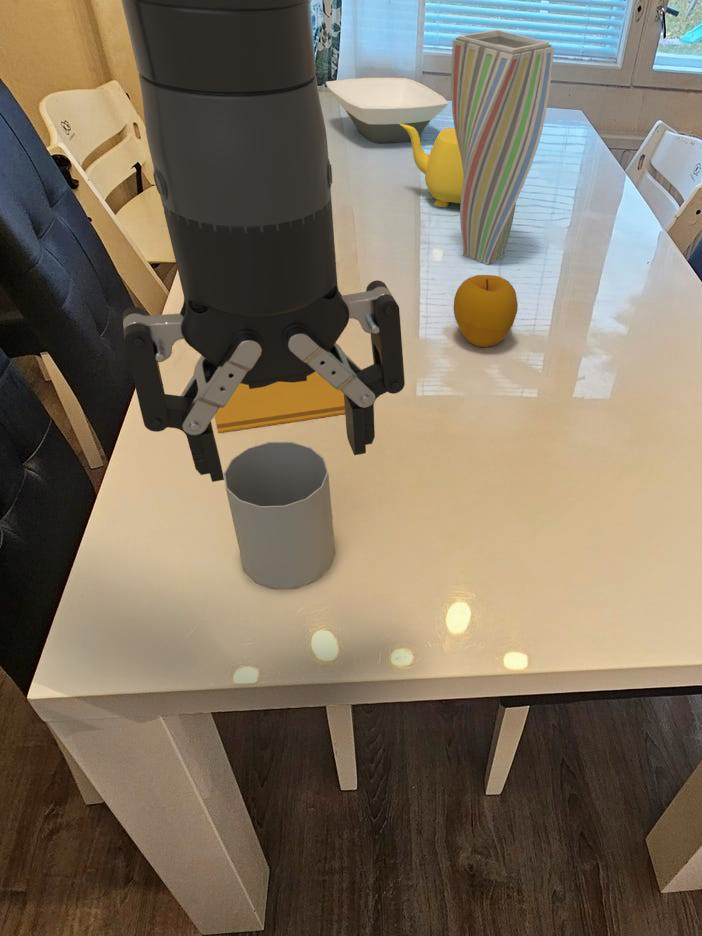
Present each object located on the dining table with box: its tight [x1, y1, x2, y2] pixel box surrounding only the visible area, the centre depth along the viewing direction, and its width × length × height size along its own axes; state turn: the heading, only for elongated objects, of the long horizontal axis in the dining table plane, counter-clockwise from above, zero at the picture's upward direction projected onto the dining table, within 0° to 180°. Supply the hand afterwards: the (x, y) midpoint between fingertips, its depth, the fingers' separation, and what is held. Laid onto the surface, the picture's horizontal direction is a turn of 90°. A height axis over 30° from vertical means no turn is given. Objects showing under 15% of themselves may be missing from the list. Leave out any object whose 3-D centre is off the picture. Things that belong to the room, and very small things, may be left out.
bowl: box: [325, 77, 449, 144], centre depth 153 cm, size 22×23×8 cm
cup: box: [223, 441, 336, 590], centre depth 62 cm, size 8×8×10 cm
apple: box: [452, 274, 519, 348], centre depth 93 cm, size 8×8×9 cm
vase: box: [450, 29, 555, 266], centre depth 105 cm, size 14×14×30 cm
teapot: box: [400, 124, 463, 208], centre depth 128 cm, size 14×20×13 cm
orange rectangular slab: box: [214, 371, 345, 434], centre depth 83 cm, size 16×12×1 cm
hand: (288, 459), depth 43 cm, fingers open, 8 cm apart
